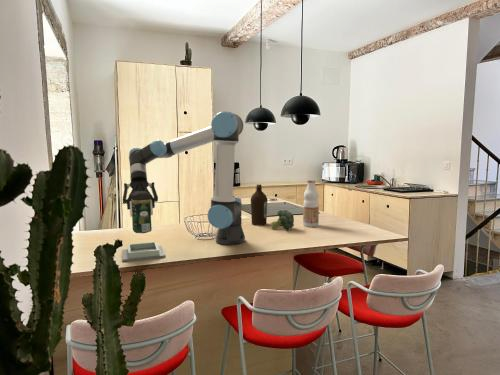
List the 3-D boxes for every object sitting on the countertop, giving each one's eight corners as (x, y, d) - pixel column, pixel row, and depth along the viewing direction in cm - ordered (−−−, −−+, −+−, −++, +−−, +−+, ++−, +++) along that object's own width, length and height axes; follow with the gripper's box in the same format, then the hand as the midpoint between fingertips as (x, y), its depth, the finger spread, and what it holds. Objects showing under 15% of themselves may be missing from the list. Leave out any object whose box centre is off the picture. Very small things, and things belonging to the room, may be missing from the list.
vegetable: (271, 222, 220) (293, 212, 218) (277, 239, 213) (300, 229, 210) (264, 213, 211) (287, 203, 208) (270, 231, 203) (294, 220, 200)
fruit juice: (302, 227, 216) (303, 181, 213) (303, 223, 226) (303, 179, 222) (318, 227, 215) (319, 181, 212) (318, 224, 224) (319, 179, 221)
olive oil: (249, 225, 221) (249, 185, 219) (252, 221, 232) (252, 183, 229) (266, 226, 220) (266, 185, 217) (268, 222, 230) (268, 184, 227)
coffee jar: (130, 230, 164) (129, 190, 162) (148, 228, 168) (146, 189, 165) (135, 234, 155) (133, 192, 153) (153, 232, 159) (152, 191, 157)
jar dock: (161, 247, 173) (161, 240, 173) (165, 257, 158) (165, 249, 158) (122, 251, 167) (122, 244, 167) (122, 262, 152) (122, 254, 152)
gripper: (160, 179, 177) (165, 217, 164) (115, 180, 170) (116, 220, 157) (161, 169, 171) (166, 207, 158) (114, 170, 164) (116, 210, 151)
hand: (141, 214), depth 157 cm, fingers closed on coffee jar, 8 cm apart
